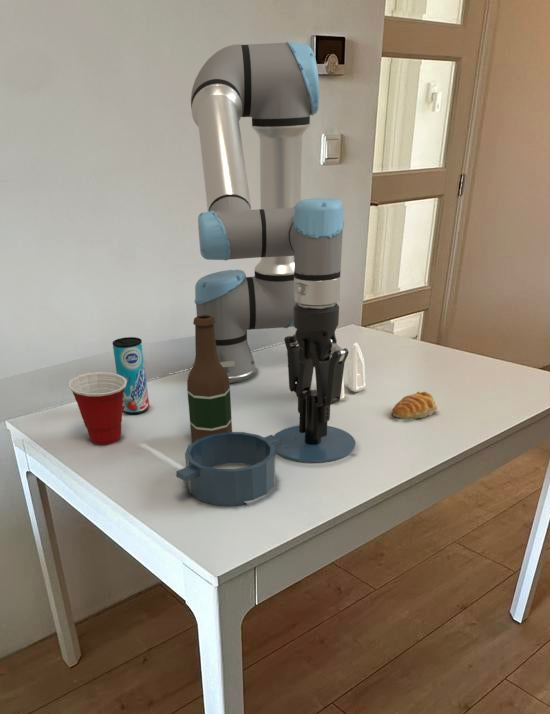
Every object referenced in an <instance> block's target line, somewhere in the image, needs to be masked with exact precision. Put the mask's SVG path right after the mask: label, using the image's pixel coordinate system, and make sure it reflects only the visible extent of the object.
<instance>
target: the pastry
mask: <svg viewBox="0 0 550 714" xmlns="http://www.w3.org/2000/svg"><path fill="white" fill-rule="evenodd" d="M437 410H438V406H437V404H436V400H435V399H434V395H432V394H431V393H430V392H427V391H421V392H420V391H417V392H416V393H413V394H408V395H406V396H403V397H402V398H401V399H400V400H399V401H398V402H397V403H395V405H394V406H393V408H392V417H395V418H398V419H401V420H409V419H413V420H418V419H423V418H426V417H428V416H431V415H433V414H434V413H435V412H436V411H437Z"/></svg>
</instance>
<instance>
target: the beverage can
mask: <svg viewBox="0 0 550 714" xmlns="http://www.w3.org/2000/svg"><path fill="white" fill-rule="evenodd" d="M142 342H143V341H142V339H141V338H139V337H135V336H128V337H121V338H116V339H115V340H113V341H112V349H113V356H114V363H115V371H116V374H118V375H120V376H123V377H124V378H125V379H126V380H127V384H126V387H125V388H124V393H123V404H122V412H123V413H125V414H128V415H140V414H144V413H146V412H147V411H148V410H149V409H150V400H149V391H148V383H147V373H146V366H145V365H146V364H145V358H144V356H145V355H144V350H143V349H144V348H143V343H142Z"/></svg>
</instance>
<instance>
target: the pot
mask: <svg viewBox="0 0 550 714" xmlns="http://www.w3.org/2000/svg"><path fill="white" fill-rule="evenodd" d="M279 444H280V439H279V438H277V437H275V436H274V435H273V434H270V435H267V436H261V435H259V434H257V433H256V434H255V433H250V432H245V431H232V432H224V433H217V434H211V435H208V436H205V437H203V438H200V439H198V440H196V441H194V442H193V443H192V442H191V443H190V444H189V445H188V446H187V447H186V451H185V453H184V458H185V459H184V460H185V467H182V468H180V469H178V470H176V471H175V474H176V477H177V478H178V479H179V480H181V481H183V482H185V483H186V482H187V488H188V490H189V493H190V494H191V495H192V496H193V497H194V498H195V499H197V500H198V501H200V502H202V503H205V504H208V505H213V506H218V507H219V506H220V507H239V506H245V505H248V503H246V502H250V501H251V502H252V501H255V500H257V499H259V498H262V497H264V496H266V495H268V493H270V491H271V490H272V489H273V488H274V487H275V484H276V453H275V447H274V446H276V445H279ZM227 464H236V465H237V464H240V465H241V464H243V465H248V466H245V467H239V468H214V467H216V466H222V465H227Z"/></svg>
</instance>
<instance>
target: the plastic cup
mask: <svg viewBox="0 0 550 714" xmlns="http://www.w3.org/2000/svg"><path fill="white" fill-rule="evenodd" d="M126 384H127V380H126V379H125V378H124V377H123V376H120V375H118V374H117V373H113V372H108V371H94V372H88V373H83V374H79V375H76V376H75V377H73V378H72V379H70V380H69V382H68V383H67V386H68V388H69V390H70V391H71V392H72V395H73V397H74V400H75V402H76V404H77V407H78V409H79V413H80V415H81V418H82V422H83V424H84V426H85V428H86V431H87V434H88V437H89V439H90V441H91V443H92V444H95V445H99V446H108V445H111V444H115V443H117V442H119V440H121V436H122V422H123V410H122V404H123V393H124V388H125V387H126Z"/></svg>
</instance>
